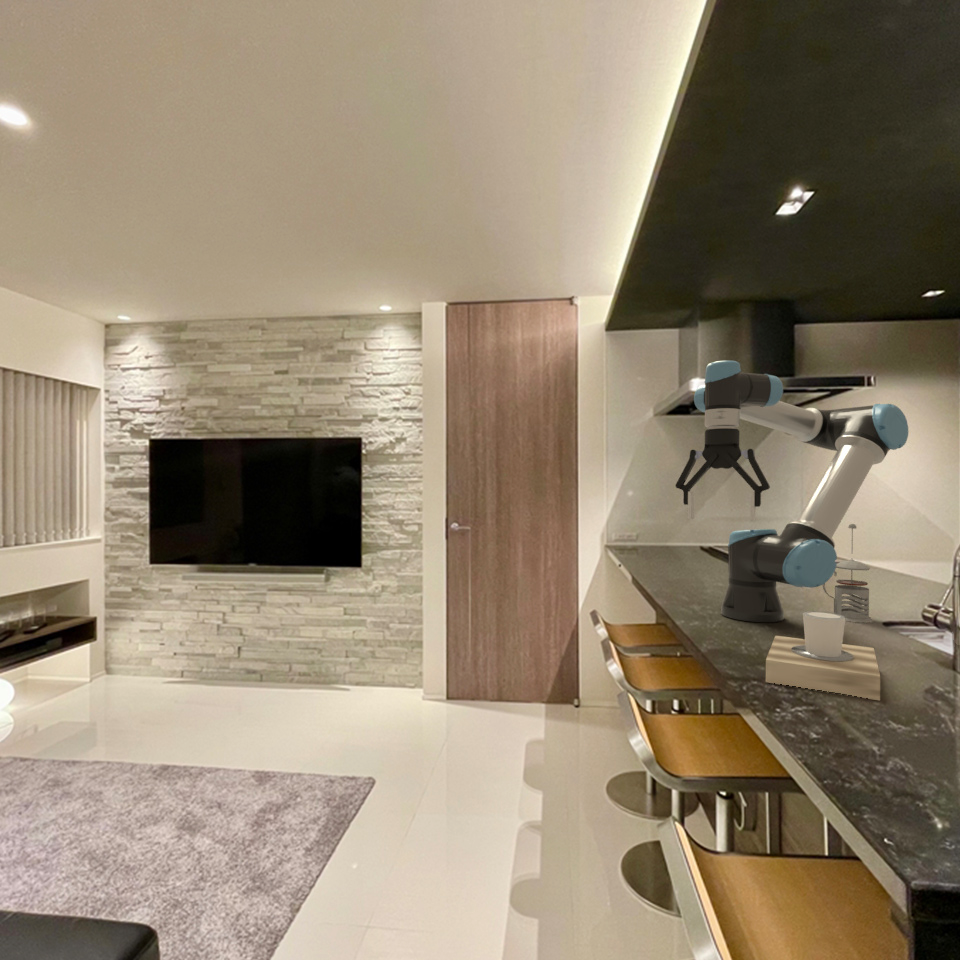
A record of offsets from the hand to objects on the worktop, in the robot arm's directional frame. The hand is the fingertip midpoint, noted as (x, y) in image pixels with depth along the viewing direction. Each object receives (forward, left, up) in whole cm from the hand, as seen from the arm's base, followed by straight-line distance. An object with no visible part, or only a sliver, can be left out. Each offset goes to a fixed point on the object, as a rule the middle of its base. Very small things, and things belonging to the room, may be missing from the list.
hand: (720, 520), depth 141 cm
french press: (-38, +26, -27) cm, 53 cm away
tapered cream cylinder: (+21, +21, -23) cm, 37 cm away
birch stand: (+21, +21, -27) cm, 40 cm away
